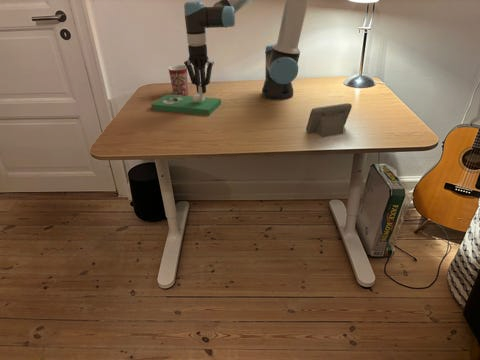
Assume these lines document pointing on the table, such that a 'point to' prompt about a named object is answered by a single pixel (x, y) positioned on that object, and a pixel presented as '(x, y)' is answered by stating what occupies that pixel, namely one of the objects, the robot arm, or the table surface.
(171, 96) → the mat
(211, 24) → the robot arm
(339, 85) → the table surface
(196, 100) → the ball
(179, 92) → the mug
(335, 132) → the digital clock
